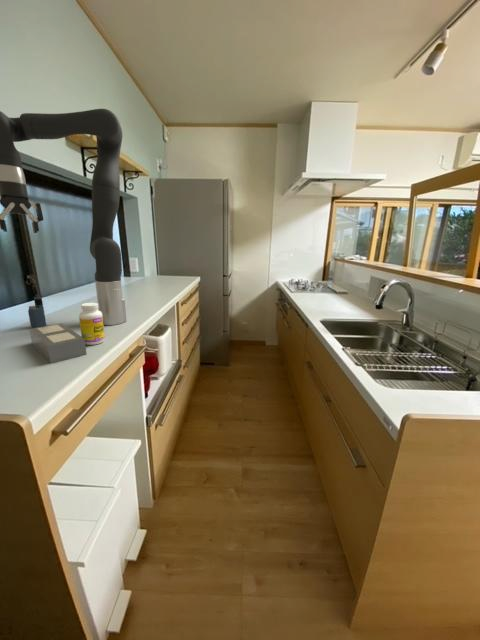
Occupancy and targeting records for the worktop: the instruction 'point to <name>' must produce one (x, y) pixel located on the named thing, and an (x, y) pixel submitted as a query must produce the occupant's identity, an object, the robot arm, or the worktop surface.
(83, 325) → the supplement bottle
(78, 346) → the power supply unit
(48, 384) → the worktop surface
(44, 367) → the worktop surface
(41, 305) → the vaping device
